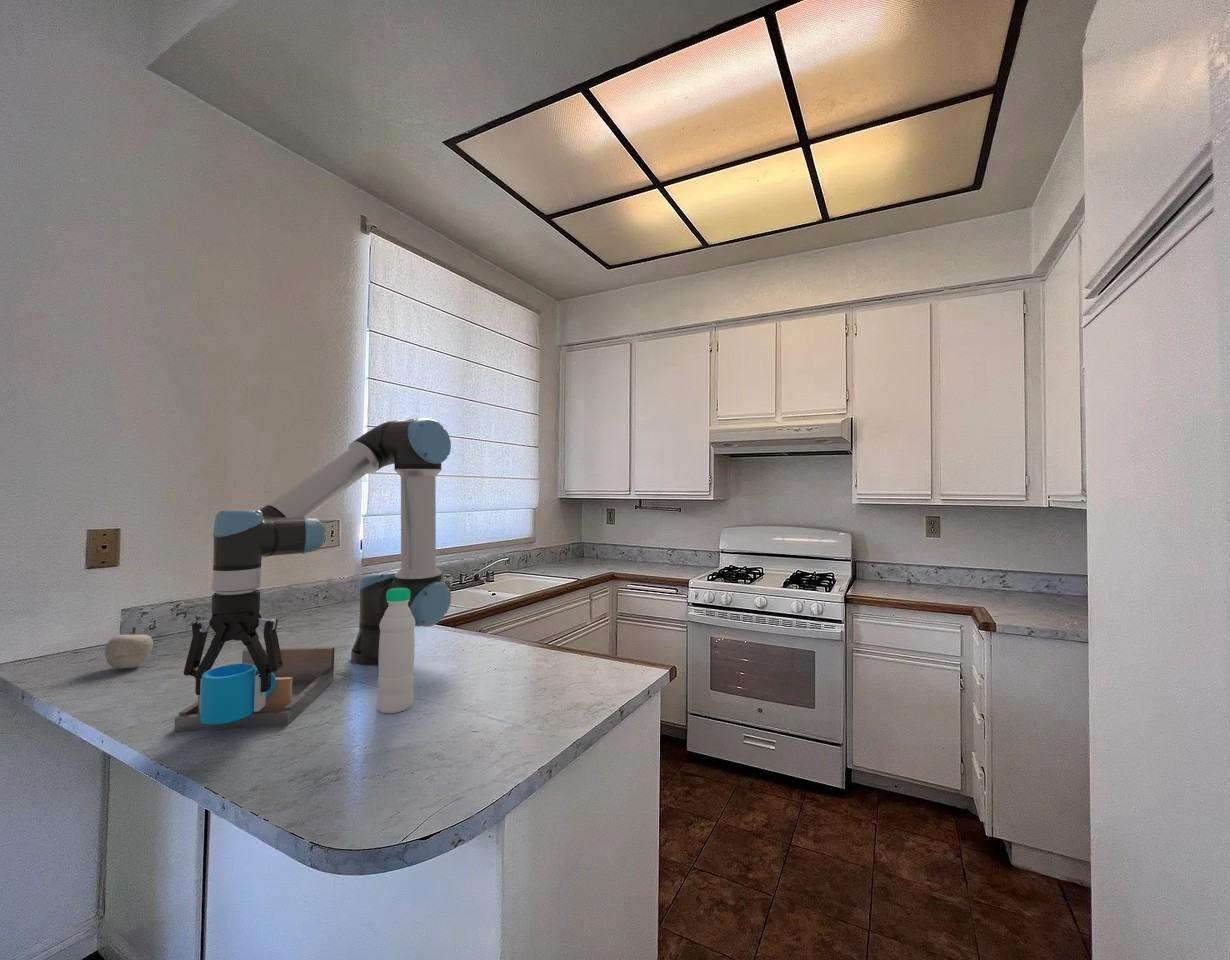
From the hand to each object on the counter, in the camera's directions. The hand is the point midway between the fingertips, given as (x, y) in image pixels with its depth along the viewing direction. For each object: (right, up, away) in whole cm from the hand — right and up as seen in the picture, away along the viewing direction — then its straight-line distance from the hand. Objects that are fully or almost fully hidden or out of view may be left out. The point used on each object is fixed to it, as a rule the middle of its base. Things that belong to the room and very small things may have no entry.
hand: (233, 709), depth 99 cm
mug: (+1, -1, 0) cm, 1 cm away
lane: (-2, -4, +12) cm, 13 cm away
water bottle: (+26, -5, +11) cm, 29 cm away
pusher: (-1, -3, +6) cm, 7 cm away
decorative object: (-49, -4, +31) cm, 59 cm away
